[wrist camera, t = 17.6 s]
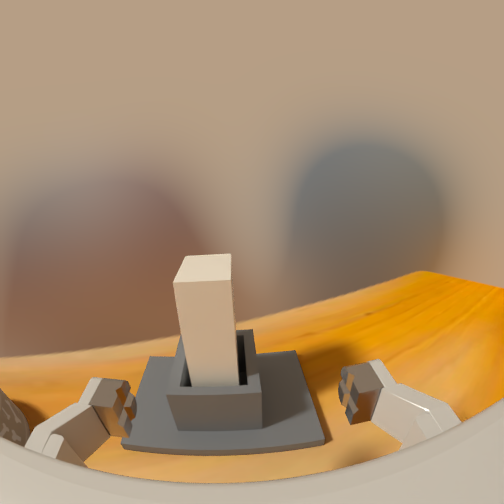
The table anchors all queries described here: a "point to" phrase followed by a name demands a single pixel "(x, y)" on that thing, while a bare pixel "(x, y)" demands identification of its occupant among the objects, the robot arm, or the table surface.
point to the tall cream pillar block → (208, 319)
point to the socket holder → (225, 407)
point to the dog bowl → (12, 422)
